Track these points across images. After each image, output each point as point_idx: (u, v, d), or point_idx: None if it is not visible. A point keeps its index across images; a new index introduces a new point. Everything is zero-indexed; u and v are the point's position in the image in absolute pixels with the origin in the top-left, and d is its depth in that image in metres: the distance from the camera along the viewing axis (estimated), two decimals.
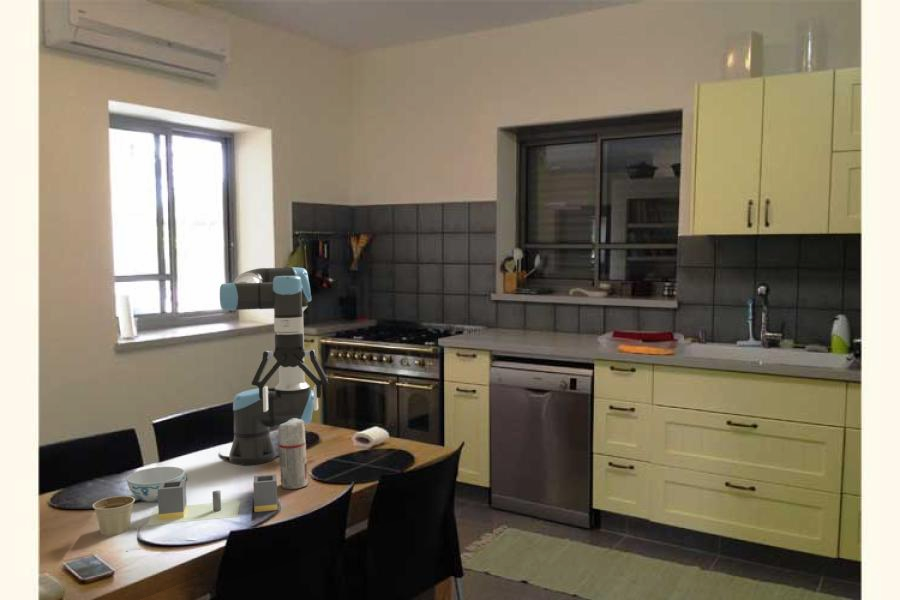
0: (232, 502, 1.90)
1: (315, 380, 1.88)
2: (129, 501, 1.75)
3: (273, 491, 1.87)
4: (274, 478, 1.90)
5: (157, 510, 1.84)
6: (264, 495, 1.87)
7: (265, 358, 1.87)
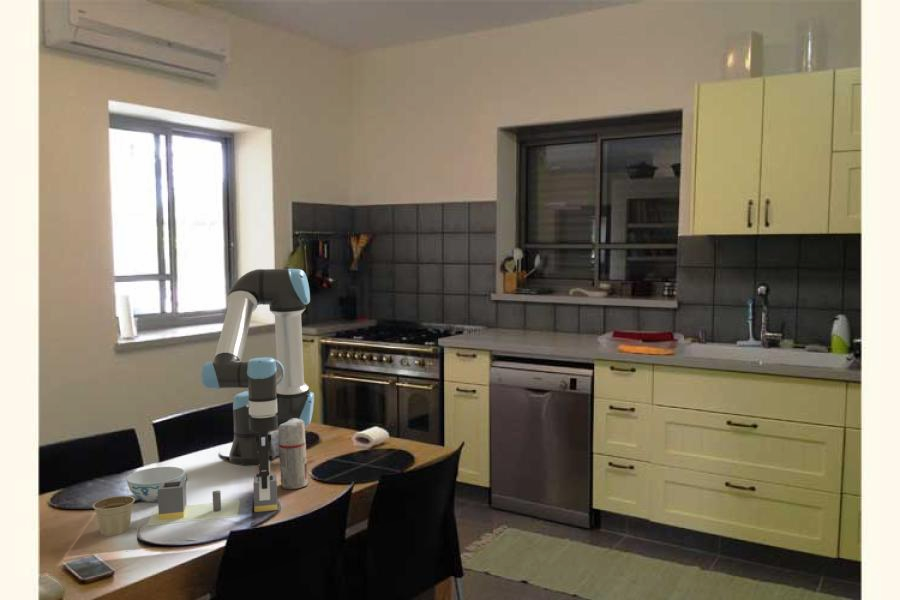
0: (232, 502, 1.90)
1: None
2: (129, 501, 1.75)
3: (273, 491, 1.87)
4: (274, 478, 1.90)
5: (157, 510, 1.84)
6: None
7: None
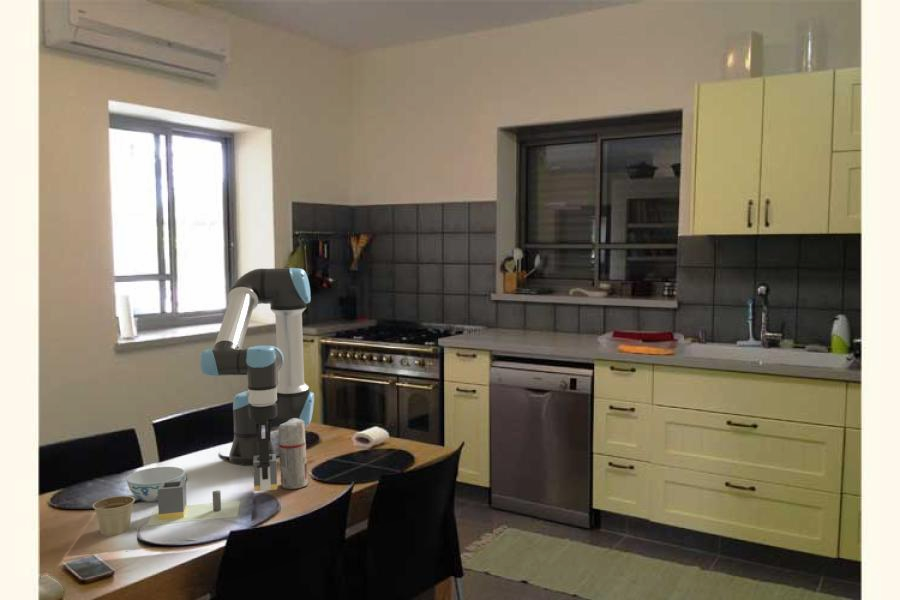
0: (232, 502, 1.90)
1: None
2: (129, 501, 1.75)
3: (273, 471, 1.88)
4: (274, 458, 1.90)
5: (157, 510, 1.84)
6: None
7: None
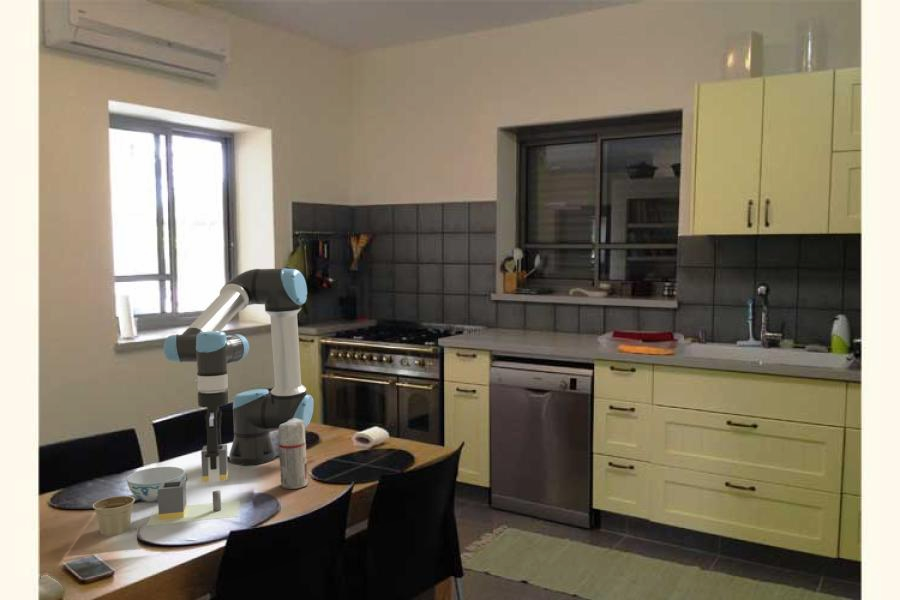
0: (232, 502, 1.90)
1: None
2: (129, 501, 1.75)
3: (222, 461, 1.81)
4: (224, 447, 1.83)
5: (157, 510, 1.84)
6: None
7: None
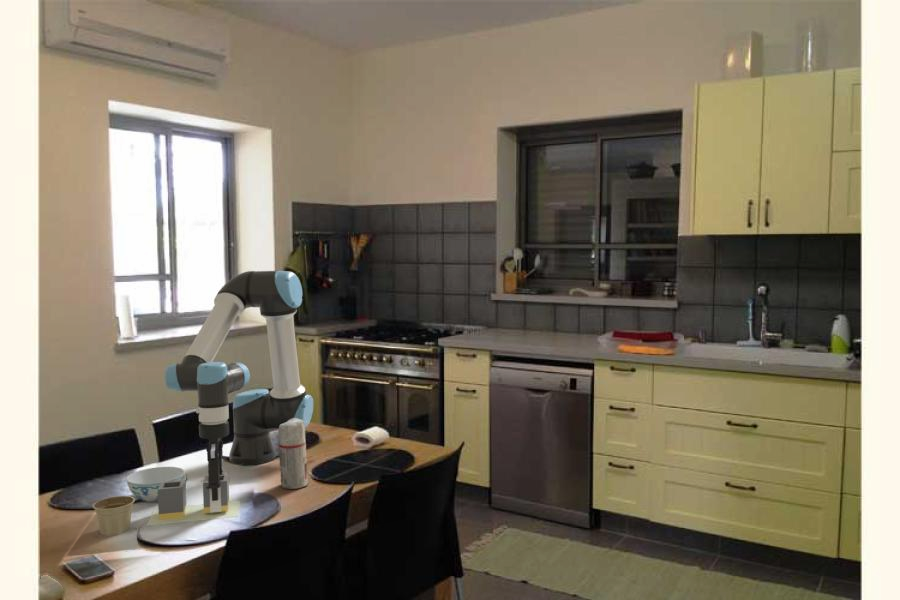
0: (232, 502, 1.90)
1: None
2: (129, 501, 1.75)
3: (223, 492, 1.81)
4: (225, 478, 1.83)
5: (157, 510, 1.84)
6: None
7: None
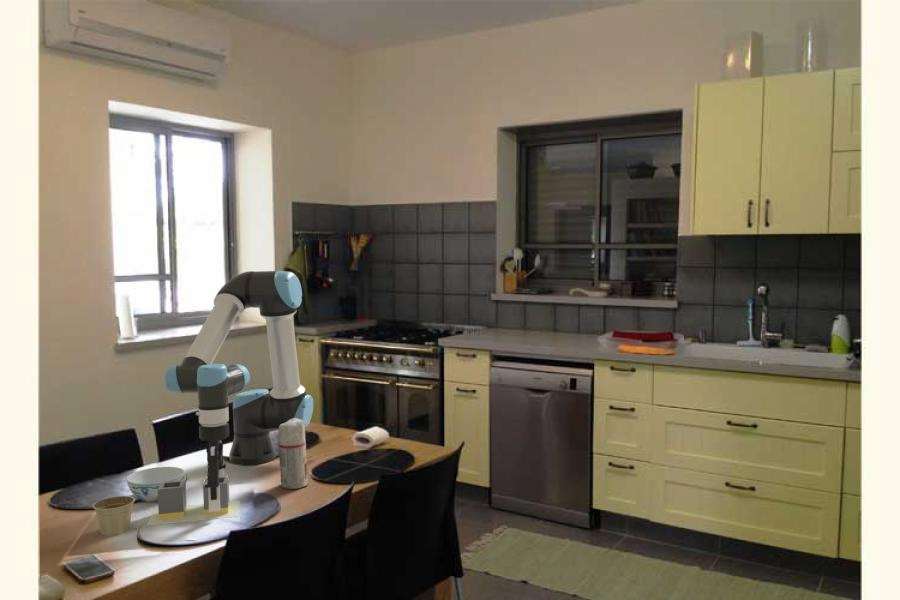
0: (232, 502, 1.90)
1: None
2: (129, 501, 1.75)
3: (223, 494, 1.81)
4: (225, 480, 1.84)
5: (157, 510, 1.84)
6: None
7: None
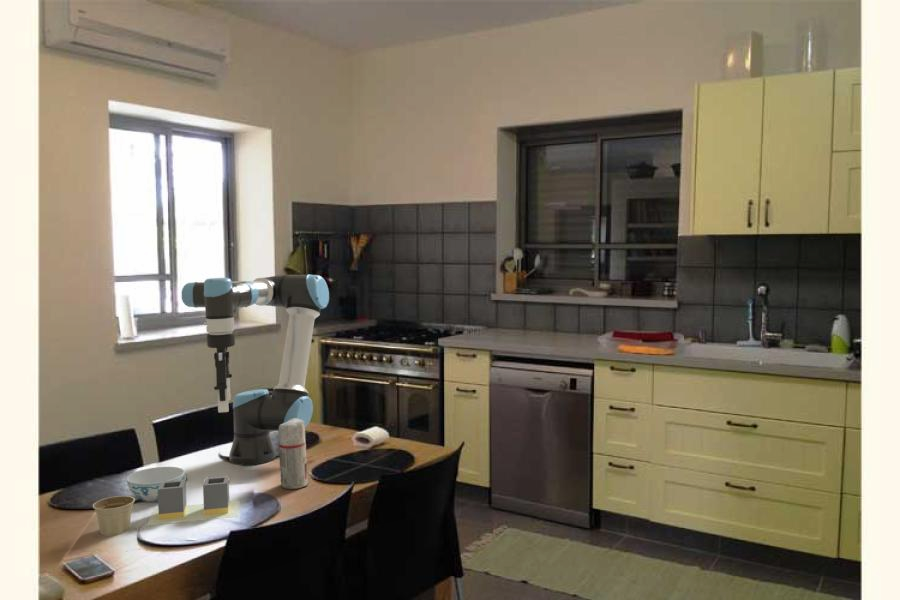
0: (232, 502, 1.90)
1: None
2: (129, 501, 1.75)
3: (223, 494, 1.81)
4: (225, 480, 1.84)
5: (157, 510, 1.84)
6: (214, 497, 1.81)
7: None
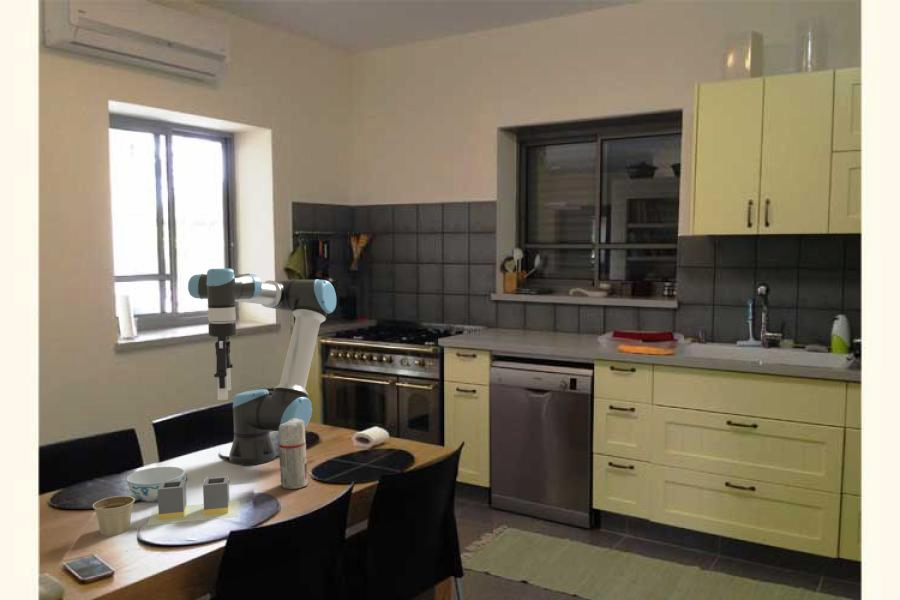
0: (232, 502, 1.90)
1: None
2: (129, 501, 1.75)
3: (223, 494, 1.81)
4: (225, 480, 1.84)
5: (157, 510, 1.84)
6: (214, 497, 1.81)
7: None
